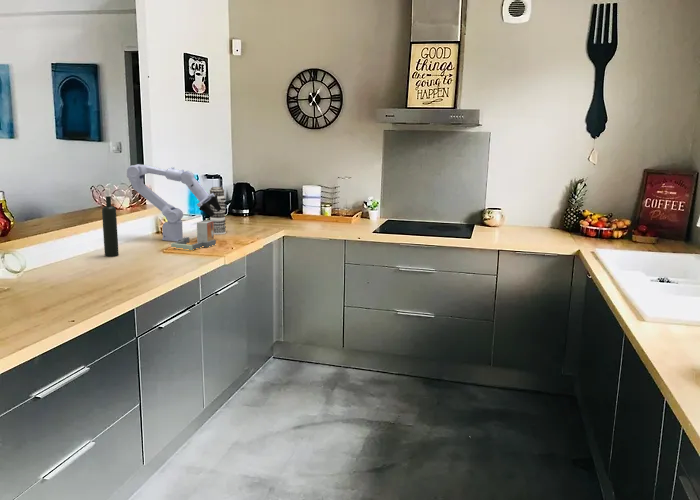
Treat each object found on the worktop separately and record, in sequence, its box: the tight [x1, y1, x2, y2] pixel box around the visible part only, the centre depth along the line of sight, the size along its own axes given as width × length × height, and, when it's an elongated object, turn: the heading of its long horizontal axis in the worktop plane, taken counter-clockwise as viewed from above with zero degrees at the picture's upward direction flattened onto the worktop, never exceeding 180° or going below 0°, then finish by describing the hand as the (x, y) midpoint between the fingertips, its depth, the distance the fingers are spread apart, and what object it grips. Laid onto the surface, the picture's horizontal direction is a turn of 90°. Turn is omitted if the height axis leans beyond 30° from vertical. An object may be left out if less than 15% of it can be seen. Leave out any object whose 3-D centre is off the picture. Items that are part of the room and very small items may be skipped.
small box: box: [196, 219, 215, 243], centre depth 297 cm, size 8×6×10 cm
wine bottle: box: [101, 187, 120, 258], centre depth 261 cm, size 6×6×30 cm
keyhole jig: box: [170, 236, 217, 251], centre depth 287 cm, size 16×17×2 cm
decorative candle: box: [208, 186, 227, 235], centre depth 320 cm, size 9×9×25 cm
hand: (216, 212), depth 299 cm, fingers open, 7 cm apart
